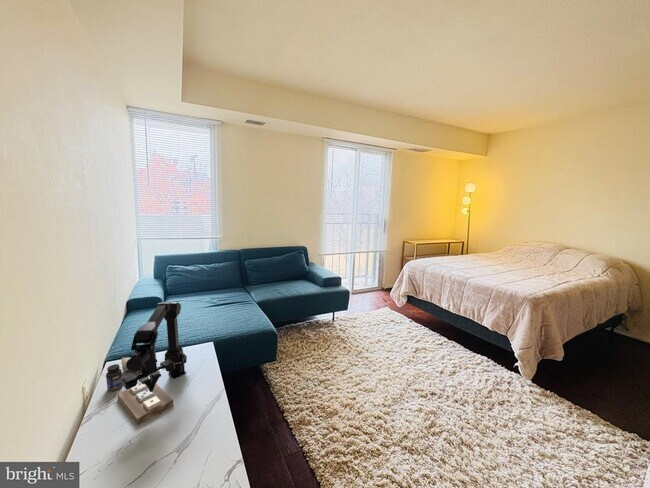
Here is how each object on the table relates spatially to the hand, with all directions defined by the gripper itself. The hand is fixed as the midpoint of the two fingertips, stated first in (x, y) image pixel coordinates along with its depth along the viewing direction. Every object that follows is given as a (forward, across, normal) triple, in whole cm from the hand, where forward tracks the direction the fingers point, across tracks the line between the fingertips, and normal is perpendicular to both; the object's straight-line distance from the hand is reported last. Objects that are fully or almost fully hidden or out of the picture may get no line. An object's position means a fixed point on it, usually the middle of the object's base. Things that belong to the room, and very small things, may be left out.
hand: (151, 391), depth 120 cm
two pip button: (+8, 0, -16) cm, 18 cm away
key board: (+9, 0, -8) cm, 12 cm away
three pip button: (+8, 0, -8) cm, 11 cm away
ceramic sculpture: (+10, -7, -40) cm, 41 cm away
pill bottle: (+9, +5, -31) cm, 33 cm away
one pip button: (+8, 0, 0) cm, 8 cm away
